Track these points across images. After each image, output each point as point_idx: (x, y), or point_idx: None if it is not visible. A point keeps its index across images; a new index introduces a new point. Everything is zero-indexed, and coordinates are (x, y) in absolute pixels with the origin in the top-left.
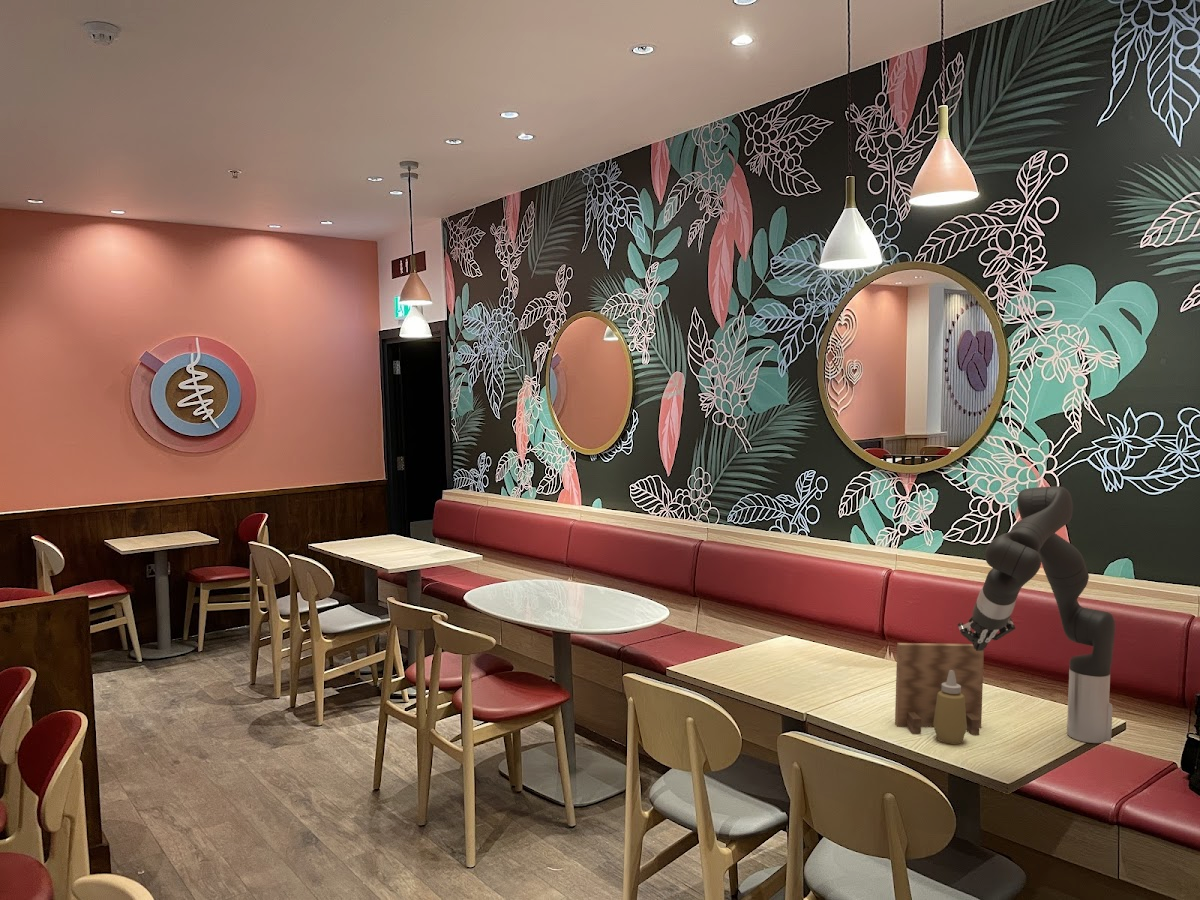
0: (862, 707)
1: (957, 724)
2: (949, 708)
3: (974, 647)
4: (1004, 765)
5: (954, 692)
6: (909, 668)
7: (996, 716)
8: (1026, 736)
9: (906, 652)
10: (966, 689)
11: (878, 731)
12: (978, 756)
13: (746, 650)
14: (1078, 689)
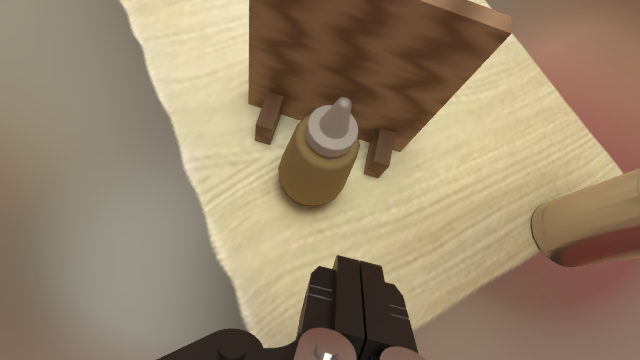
0: (244, 17)
1: (311, 197)
2: (301, 174)
3: (300, 316)
4: None
5: (325, 153)
6: (278, 16)
7: (454, 117)
8: (459, 204)
9: None
10: (403, 100)
11: (195, 111)
12: (314, 268)
13: None
14: (636, 218)
